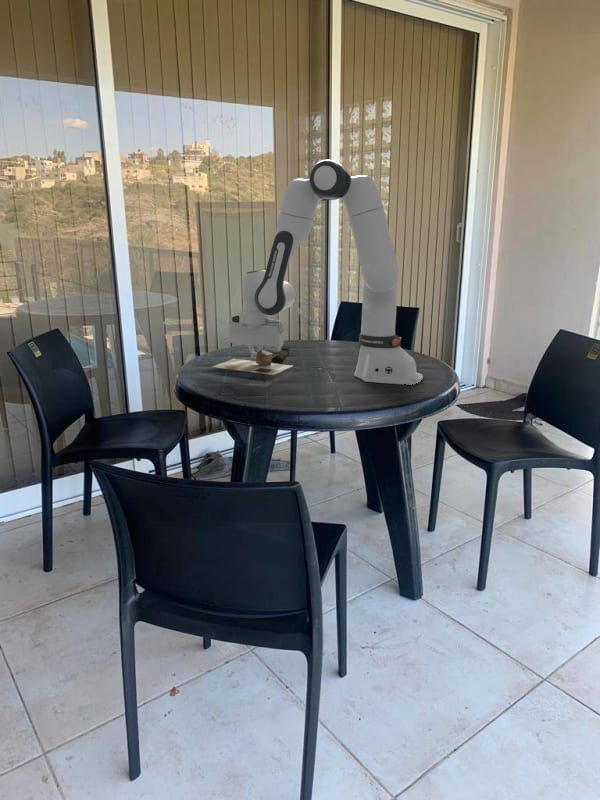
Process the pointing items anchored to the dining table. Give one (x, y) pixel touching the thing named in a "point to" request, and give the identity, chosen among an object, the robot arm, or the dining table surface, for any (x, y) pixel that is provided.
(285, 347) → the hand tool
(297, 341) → the dining table surface
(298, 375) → the dining table surface
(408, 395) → the dining table surface
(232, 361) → the birch board
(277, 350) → the beverage can
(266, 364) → the walnut cube
